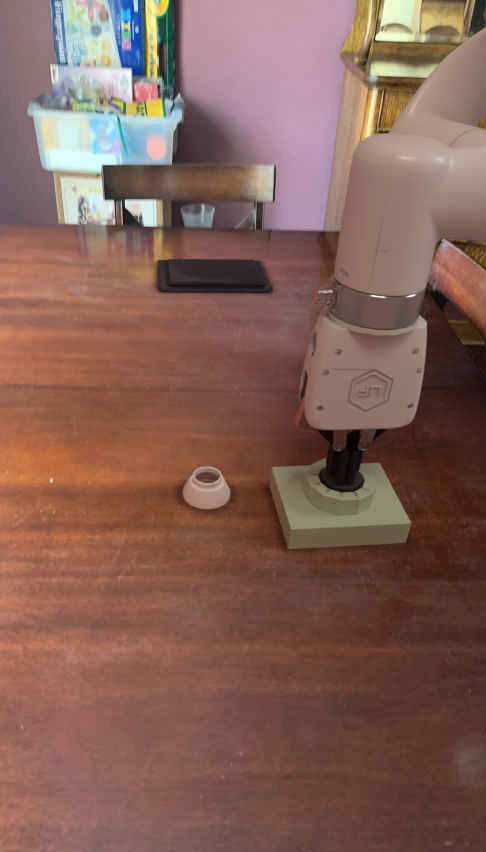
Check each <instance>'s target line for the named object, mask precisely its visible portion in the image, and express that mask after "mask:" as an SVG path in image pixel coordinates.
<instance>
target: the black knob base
mask: <svg viewBox="0 0 486 852" xmlns="http://www.w3.org/2000/svg"><path fill="white" fill-rule="evenodd" d="M326 459H327V457H324V458H322V459H319V460H318V461H315V462H313V463H311V464H310V465H309V464H308V465H287V466H286V465H285V466H284V465H283V466H272V467H271V469H270V479H269V489H270V493H271V496H272V501H273V503H274V506H275V510H276V513H277V516H278V517H277V518H278V521H279V523H280V528H281V530H282V534H283V537H284V541H285V544H286V548H287V550H299V549H316V548H317V549H318V548H333V547H334V548H336V547H337V548H338V547H352V546H372V545H390V544H393V545H394V544H406V542H407V539H408V536H409V533H410V528H411V527H412V522H411V520H410V518H409V516H408V514H407V512H406V510H405V508H404V506H403V505H402V502H401V501H400V499H399V497H398V495H397V493H396V491H395V489H394V488H393V486H392V484H391V482H390V480H389V478H388V476H387V474H386V471H385V470H384V469H383V467H382V465H381V463H380V462H361V465H360V470H359V471H358V472H359V473H360V474H361V477H362V481H361V486H360V489H359V490H357V491H355V492H342V493H341V492H338V491H334V490H331V489H328V488H327V487H326V486H324V485H323V484H322V483H321V482H320V480H321V474H322V471H323V469H324V468H325V467H326Z"/></svg>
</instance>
